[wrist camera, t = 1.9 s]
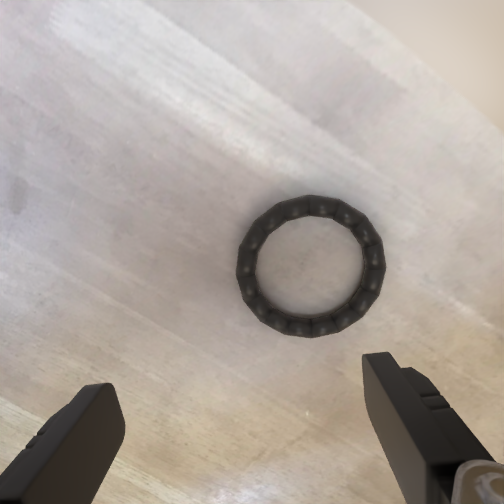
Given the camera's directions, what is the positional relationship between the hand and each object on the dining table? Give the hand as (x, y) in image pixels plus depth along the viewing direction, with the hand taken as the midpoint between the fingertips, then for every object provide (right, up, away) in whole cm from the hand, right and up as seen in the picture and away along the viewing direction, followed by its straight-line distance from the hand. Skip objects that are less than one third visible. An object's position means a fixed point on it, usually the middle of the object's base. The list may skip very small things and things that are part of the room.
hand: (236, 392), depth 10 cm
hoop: (+4, +3, +9) cm, 11 cm away
